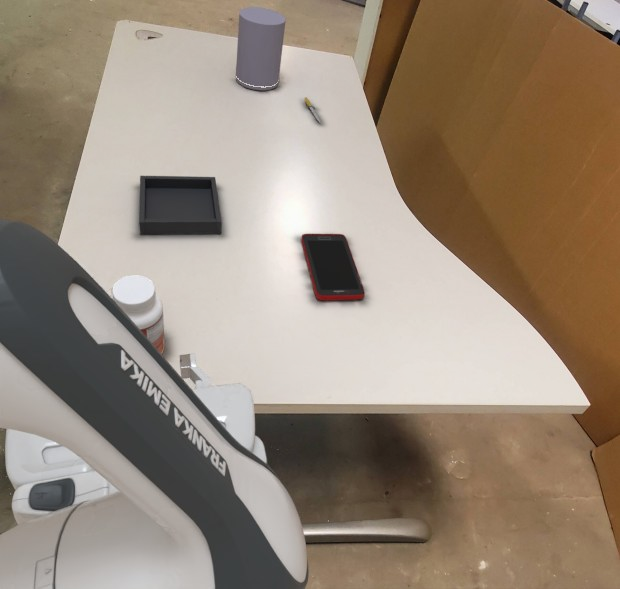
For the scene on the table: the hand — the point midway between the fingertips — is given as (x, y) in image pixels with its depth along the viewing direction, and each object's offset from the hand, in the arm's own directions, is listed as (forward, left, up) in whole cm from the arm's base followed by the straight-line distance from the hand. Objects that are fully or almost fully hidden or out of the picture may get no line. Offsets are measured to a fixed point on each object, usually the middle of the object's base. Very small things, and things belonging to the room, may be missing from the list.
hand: (136, 363), depth 50 cm
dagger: (+36, +78, -13) cm, 87 cm away
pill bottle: (-1, +12, -13) cm, 18 cm away
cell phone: (+28, +26, -13) cm, 41 cm away
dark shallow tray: (+5, +41, -13) cm, 44 cm away
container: (+25, +92, -13) cm, 97 cm away
